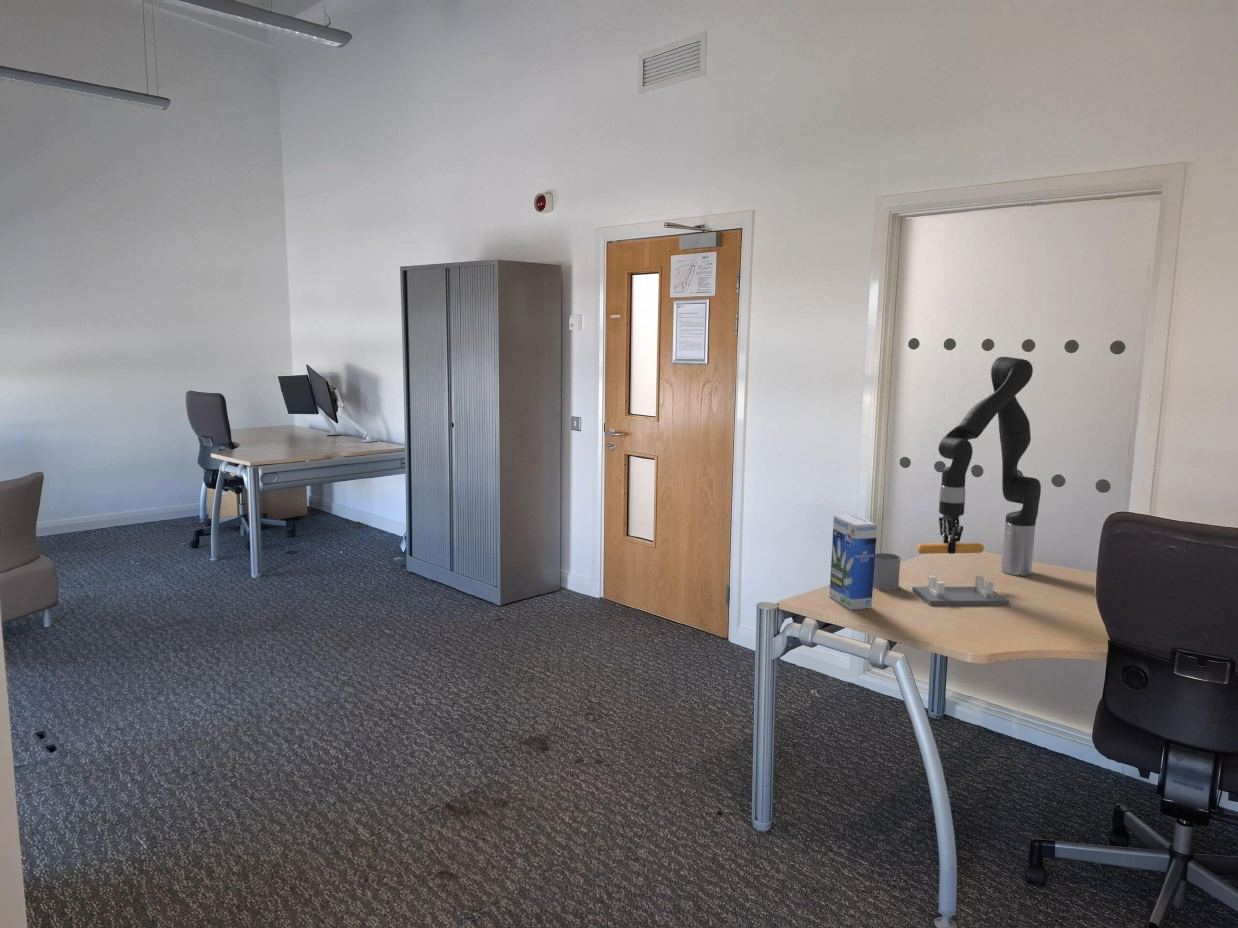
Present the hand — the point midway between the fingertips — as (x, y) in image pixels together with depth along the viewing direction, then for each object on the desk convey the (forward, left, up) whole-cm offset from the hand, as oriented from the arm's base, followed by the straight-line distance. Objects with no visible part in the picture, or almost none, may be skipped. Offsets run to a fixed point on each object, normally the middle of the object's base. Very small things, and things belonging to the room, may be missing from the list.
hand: (949, 551), depth 269 cm
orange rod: (0, 0, -1) cm, 1 cm away
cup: (+2, -21, -11) cm, 24 cm away
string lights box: (+18, -37, -11) cm, 43 cm away
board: (+14, -2, -11) cm, 18 cm away
